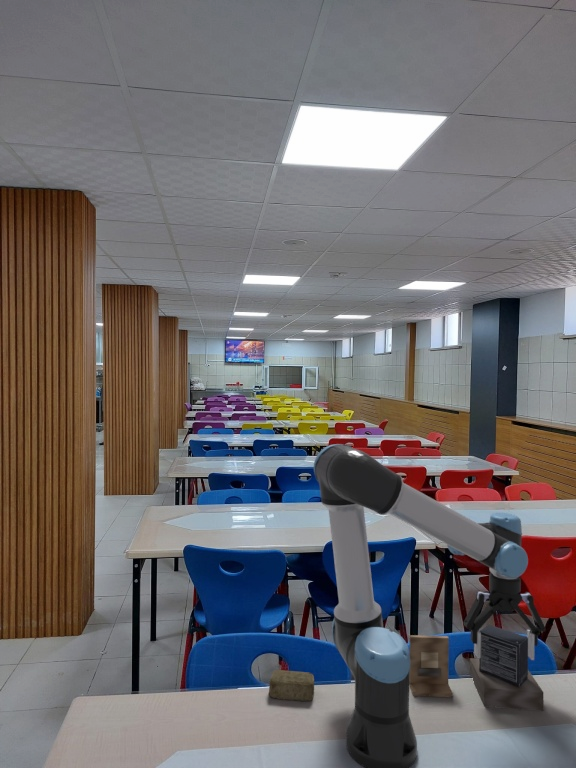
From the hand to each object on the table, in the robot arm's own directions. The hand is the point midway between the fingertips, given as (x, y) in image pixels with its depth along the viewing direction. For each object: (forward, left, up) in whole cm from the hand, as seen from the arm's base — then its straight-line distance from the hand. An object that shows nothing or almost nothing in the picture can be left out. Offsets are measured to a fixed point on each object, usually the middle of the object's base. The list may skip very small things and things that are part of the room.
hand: (503, 656), depth 131 cm
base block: (0, 0, -10) cm, 10 cm away
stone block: (-55, -4, -10) cm, 56 cm away
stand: (-19, 0, -9) cm, 21 cm away
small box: (0, 0, -5) cm, 5 cm away
